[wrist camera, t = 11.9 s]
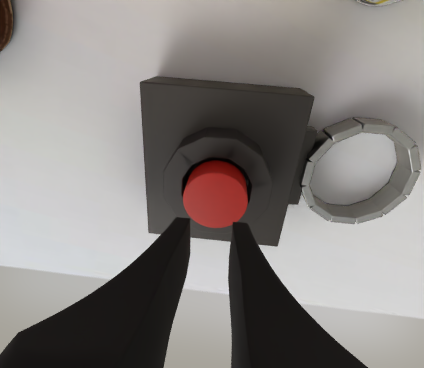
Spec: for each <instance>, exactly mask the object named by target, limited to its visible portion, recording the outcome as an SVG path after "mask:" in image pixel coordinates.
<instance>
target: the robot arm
mask: <svg viewBox="0 0 424 368" xmlns="http://www.w3.org/2000/svg"><path fill="white" fill-rule="evenodd" d="M189 257H190V218H182V217H176V218H175V219H174V220H173V221H172V222H171V224H170V225H169V226H168V227H167V228H166V230H165V231H164V232H163V233H162V234H161V235H160V236H159V237H158V238H157V239H156V241H155V242H154V243H153V244H152V245H151V246H150V247H149V248H148V249H147V250H146V251H145V252H143V253H142V254H141V255H140V256H139V257H138V258H137V259H136V260H135V261H134V262H133V263H131V264H130V265H129V266H128V267H127V268H126V269H124V270H123V271H122V272H120V273H119V274H118V275H117V276H115V277H114V278H113V279H111V280H110V281H108V282H107V283H106V284H104V285H103V286H101V287H100V288H98V289H97V290H96V291H94V292H93V293H91V294H89V295H88V296H86V297H85V298H83V299H81V300H80V301H78V302H76V303H75V304H73V305H71V306H69V307H67V308H66V309H64V310H62V311H60V312H58V313H57V314H55V315H53V316H51V317H49V318H47V319H45V320H43V321H41V322H39V323H37V324H35V325H33V326H31V327H29V328H27V329H25V330H23V331H21V332H19V333H18V334H17V335H16V336H15V337H14V338H13V339H12V341H11V342H10V343H9V344H8V345H7V347H6V348H5V349H4V350H3V352H2V353H1V354H0V368H163V367H164V362H165V356H166V351H167V346H168V341H169V336H170V332H171V328H172V323H173V320H174V316H175V313H176V310H177V306H178V303H179V299H180V296H181V292H182V289H183V285H184V282H185V278H186V275H187V269H188V263H189ZM228 281H229V297H230V312H231V327H232V359H231V361H232V362H231V368H368V367H366V366H365V365H364V364H363V363H362V362H360V361H359V360H358V359H357V358H356V357H354V356H353V355H352V354H351V353H350V352H349V351H347V350H346V349H345V348H344V347H343V346H341V345H340V344H339V343H338V342H337V341H336V340H335V339H334V338H333V337H331V336H330V335H329V334H328V333H327V332H326V331H325V330H324V329H323V328H322V327H321V326H320V325H319V324H318V323H317V322H316V321H315V320H314V319H313V318H312V317H311V316H310V315H309V314H308V313H307V312H306V311H305V310H304V309H303V308H302V307H301V305H300V304H299V303H298V302H297V301H296V299H295V298H294V297H293V296H292V295H291V293H290V292H289V291H288V290H287V288H286V287H285V286H284V285H283V283H282V282H281V281H280V279H279V278H278V276H277V275H276V274H275V272H274V271H273V269H272V268H271V266H270V265H269V263H268V261H267V260H266V258H265V256H264V255H263V253H262V251H261V250H260V248H259V246H258V244H257V242H256V240H255V238H254V236H253V234H252V232H251V229H250V227H249V225H248V224H247V223H242V222H233V225H232V235H231V245H230V254H229V274H228Z"/></svg>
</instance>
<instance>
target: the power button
mask: <svg viewBox="0 0 424 368" xmlns="http://www.w3.org/2000/svg"><path fill="white" fill-rule="evenodd" d="M183 204H184V207H185V210H186V212H187V213H188V215H189V216H190V217H191V218H192V219H193V220H194V221H196V222H197V223H199V224H201V225H203V226H206V227H211V228H223V227H227V226H230V225H232V224H233V222H237V221H238V220H239V219H240V218H241V217H242V216H243V215H244V213H245V211H246V209H247V205H248V197H247V186H246V180H245V178H244V176H243V174H242V173H241V171H240V170H239V169H238V168H237V167H235V166H234V165H232V164H230V163H228V162H225V161H220V160H213V161H207V162H204V163H202V164H200V165H199V166H197V167H196V168H195V169H194V170H193V171H192V173H191V174H190V176H189V179H188V182H187V184H186V187H185V190H184V193H183Z"/></svg>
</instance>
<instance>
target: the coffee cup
mask: <svg viewBox="0 0 424 368" xmlns="http://www.w3.org/2000/svg"><path fill="white" fill-rule="evenodd" d="M12 30H13V12H12V7H11V3H10V0H0V51H2V50H3V48H5V46H6V45H7V44H8V43H9V41H10V39H11V35H12Z"/></svg>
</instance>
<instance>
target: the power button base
mask: <svg viewBox="0 0 424 368" xmlns="http://www.w3.org/2000/svg"><path fill="white" fill-rule="evenodd" d="M140 95H141V112H142V128H143V145H144V162H145V179H146V196H147V213H148V230H149V233H154V234H162V233H163V232H164V231H165V230H166V228H167V227H168V226H169V225H170V224H171V222H172V221H173V220H174V219H175V218H176V217H182V218H190V237H192V238H202V239H211V240H221V241H230V242H231V235H232V225H233V224H232V225H230V226H227V227H223V228H211V227H206V226H203V225H201V224H199V223H197V222H196V221H194V220H193V219H192V218H191V217H190V216H189V215H188V213H187V212H186V210H185V207H184V204H183V193H184V190H185V187H186V184H187V182H188V179H189V176H190V174H191V173H192V171H193V170H194V169H195V168H196V167H197V166H199V165H200V164H202V163H204V162H207V161H213V160H220V161H225V162H228V163H230V164H232V165H234V166H235V167H237V168H238V169H239V170H240V171H241V173H242V174H243V176H244V178H245V180H246V186H247V197H248V205H247V209H246V211H245V213H244V215H243V216H242V217H241V218H240V219H239V220H238V221H237V222H242V223H247V224H248V225H249V227H250V229H251V232H252V234H253V236H254V238H255V240H256V242H257V244H259V245H268V246H278V243H279V239H280V235H281V231H282V227H283V222H284V218H285V214H286V210H287V206H288V202H289V198H290V194H291V190H292V186H293V182H294V178H295V174H296V170H297V166H298V162H299V158H300V154H301V150H302V145H303V141H304V137H305V133H306V129H307V125H308V121H309V117H310V113H311V109H312V105H313V101H314V96H312V95H311V94H309V93H307V92H305V91H303V90H302V89H300V88H290V87H278V86H266V85H254V84H242V83H229V82H217V81H205V80H193V79H181V78H169V77H154V78H150V79H147V80H144V81H141V82H140Z"/></svg>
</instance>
